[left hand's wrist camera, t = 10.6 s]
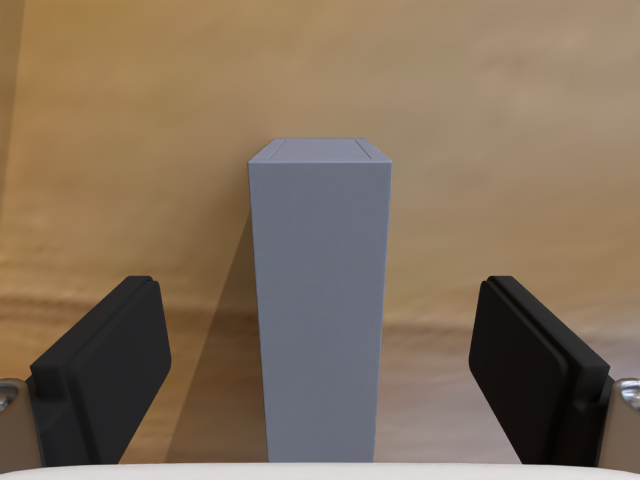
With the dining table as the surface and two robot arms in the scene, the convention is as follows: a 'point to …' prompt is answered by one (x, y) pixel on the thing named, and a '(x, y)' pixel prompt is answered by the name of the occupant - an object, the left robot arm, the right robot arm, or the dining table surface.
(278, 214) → the cabinet
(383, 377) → the dining table surface
